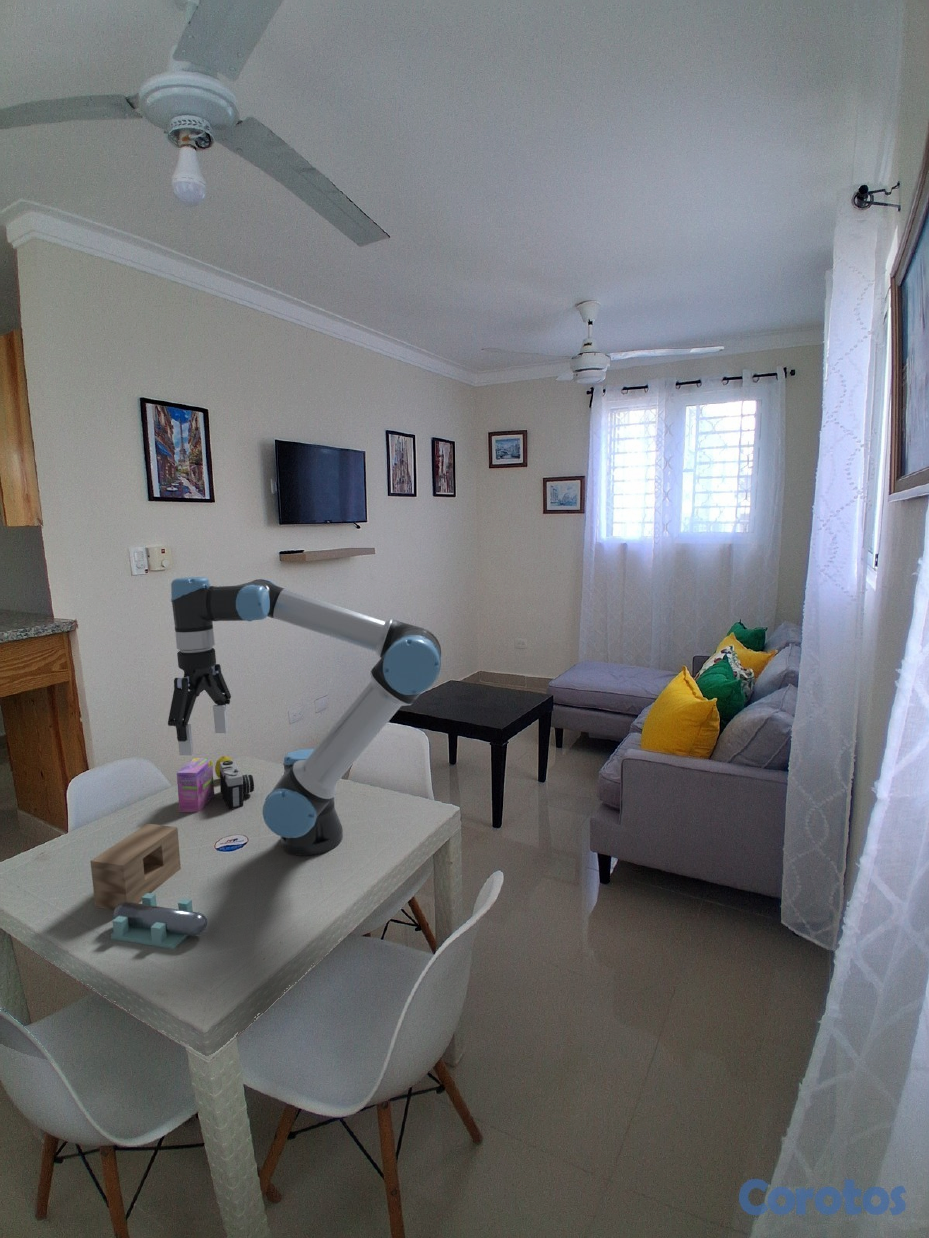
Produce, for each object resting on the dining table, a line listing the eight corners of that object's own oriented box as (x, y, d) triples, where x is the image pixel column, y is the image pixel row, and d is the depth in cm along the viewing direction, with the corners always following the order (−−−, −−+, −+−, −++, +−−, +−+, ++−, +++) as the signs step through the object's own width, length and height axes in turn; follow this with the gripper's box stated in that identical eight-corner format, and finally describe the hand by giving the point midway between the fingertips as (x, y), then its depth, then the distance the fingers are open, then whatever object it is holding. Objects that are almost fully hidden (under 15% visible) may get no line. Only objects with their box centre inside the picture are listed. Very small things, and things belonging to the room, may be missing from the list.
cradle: (205, 919, 120) (203, 901, 120) (174, 950, 112) (172, 930, 111) (145, 910, 123) (144, 892, 123) (111, 939, 115) (109, 920, 114)
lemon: (223, 785, 183) (221, 760, 182) (212, 781, 186) (210, 757, 185) (238, 779, 188) (237, 754, 186) (227, 775, 190) (225, 751, 189)
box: (199, 812, 166) (196, 772, 164) (179, 812, 166) (175, 772, 164) (215, 795, 176) (212, 757, 174) (196, 795, 176) (193, 757, 174)
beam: (180, 869, 138) (177, 827, 136) (127, 912, 123) (123, 865, 121) (151, 865, 140) (147, 823, 138) (95, 907, 124) (90, 860, 123)
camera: (256, 805, 170) (254, 772, 168) (222, 812, 166) (219, 778, 164) (252, 786, 182) (250, 755, 181) (220, 792, 179) (218, 760, 177)
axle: (213, 923, 116) (208, 909, 115) (201, 941, 113) (195, 927, 111) (126, 909, 121) (120, 895, 119) (112, 927, 117) (105, 913, 116)
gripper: (212, 638, 141) (219, 724, 144) (141, 661, 117) (152, 764, 120) (241, 638, 140) (248, 724, 143) (176, 662, 116) (186, 765, 119)
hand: (204, 743), depth 132 cm, fingers open, 13 cm apart
